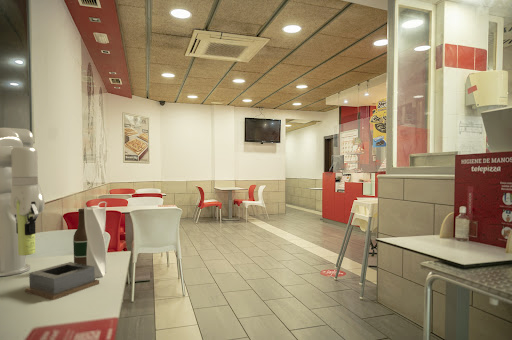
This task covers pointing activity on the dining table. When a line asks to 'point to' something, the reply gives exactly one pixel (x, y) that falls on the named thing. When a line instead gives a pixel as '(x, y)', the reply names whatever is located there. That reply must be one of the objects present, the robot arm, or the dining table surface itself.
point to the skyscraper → (96, 238)
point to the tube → (24, 236)
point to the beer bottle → (80, 240)
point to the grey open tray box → (61, 280)
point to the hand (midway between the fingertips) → (26, 233)
